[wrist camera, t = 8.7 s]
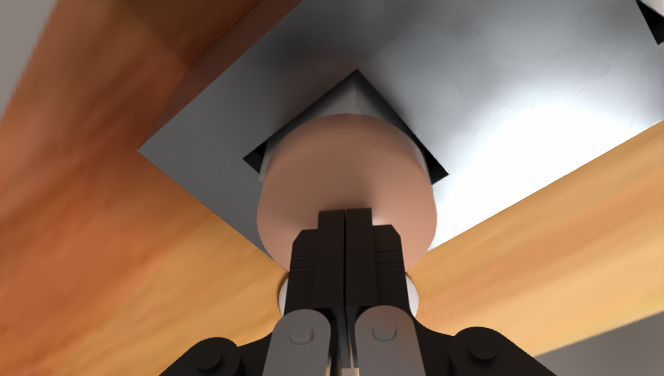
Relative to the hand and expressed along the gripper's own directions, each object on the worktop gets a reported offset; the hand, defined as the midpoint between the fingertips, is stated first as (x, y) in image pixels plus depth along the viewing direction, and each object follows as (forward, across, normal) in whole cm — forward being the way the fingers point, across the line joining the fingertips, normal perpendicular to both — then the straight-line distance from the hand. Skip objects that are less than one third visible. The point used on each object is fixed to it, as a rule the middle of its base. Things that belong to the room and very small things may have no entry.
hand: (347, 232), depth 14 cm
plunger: (+7, 0, 0) cm, 7 cm away
